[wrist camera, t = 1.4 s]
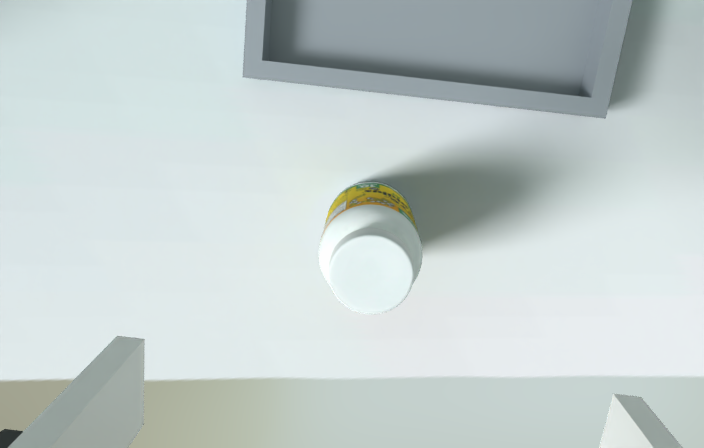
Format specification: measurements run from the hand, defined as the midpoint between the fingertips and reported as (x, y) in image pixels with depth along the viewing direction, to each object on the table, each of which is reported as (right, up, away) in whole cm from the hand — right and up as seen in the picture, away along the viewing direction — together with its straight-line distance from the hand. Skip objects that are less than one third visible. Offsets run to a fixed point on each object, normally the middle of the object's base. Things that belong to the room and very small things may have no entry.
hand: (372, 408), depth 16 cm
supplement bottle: (+1, +5, +20) cm, 20 cm away
